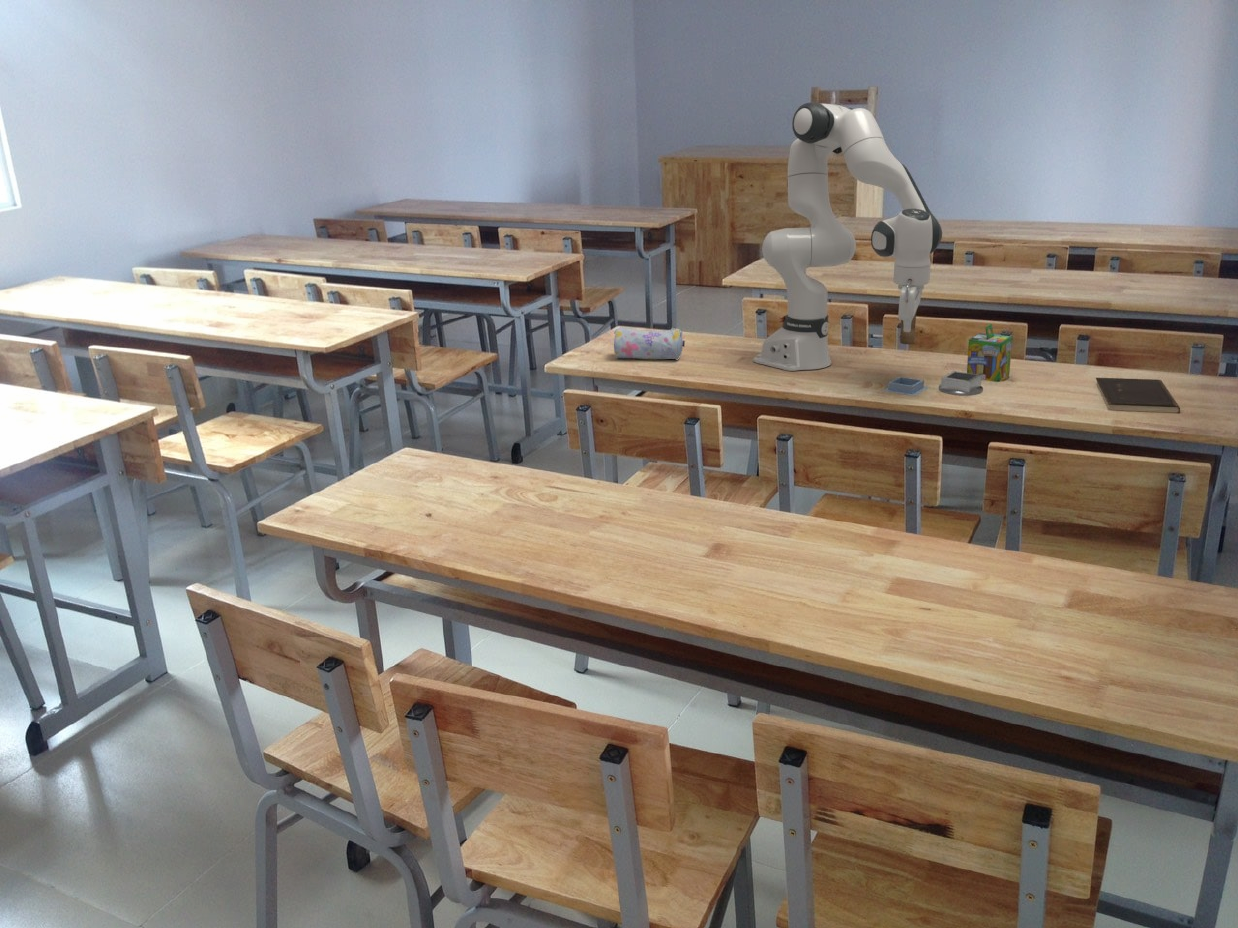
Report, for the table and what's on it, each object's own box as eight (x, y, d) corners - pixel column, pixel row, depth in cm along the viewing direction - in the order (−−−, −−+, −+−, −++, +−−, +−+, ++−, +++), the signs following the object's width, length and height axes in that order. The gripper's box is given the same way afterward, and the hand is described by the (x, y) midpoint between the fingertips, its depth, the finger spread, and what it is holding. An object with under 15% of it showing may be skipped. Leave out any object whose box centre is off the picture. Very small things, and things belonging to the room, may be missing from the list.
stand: (881, 394, 283) (882, 383, 282) (897, 385, 290) (897, 374, 289) (914, 399, 278) (914, 388, 277) (929, 390, 284) (929, 379, 283)
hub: (931, 394, 281) (932, 378, 279) (948, 384, 289) (950, 368, 287) (972, 401, 274) (974, 384, 273) (989, 391, 282) (990, 374, 281)
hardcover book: (1107, 412, 264) (1108, 403, 264) (1095, 385, 285) (1095, 377, 284) (1179, 415, 260) (1180, 406, 259) (1161, 388, 281) (1162, 379, 280)
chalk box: (998, 385, 286) (1003, 331, 281) (964, 380, 292) (969, 327, 286) (1010, 377, 293) (1015, 323, 288) (977, 372, 299) (981, 320, 293)
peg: (897, 341, 281) (899, 309, 277) (909, 340, 281) (911, 308, 278) (904, 345, 277) (906, 313, 274) (917, 343, 278) (918, 311, 275)
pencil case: (685, 355, 327) (684, 325, 324) (681, 363, 319) (680, 332, 316) (617, 354, 331) (616, 324, 328) (611, 362, 323) (610, 331, 320)
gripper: (920, 285, 263) (917, 340, 268) (927, 267, 281) (924, 319, 286) (894, 284, 265) (891, 338, 270) (903, 267, 283) (899, 318, 288)
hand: (908, 329), depth 278 cm, fingers closed on peg, 4 cm apart
